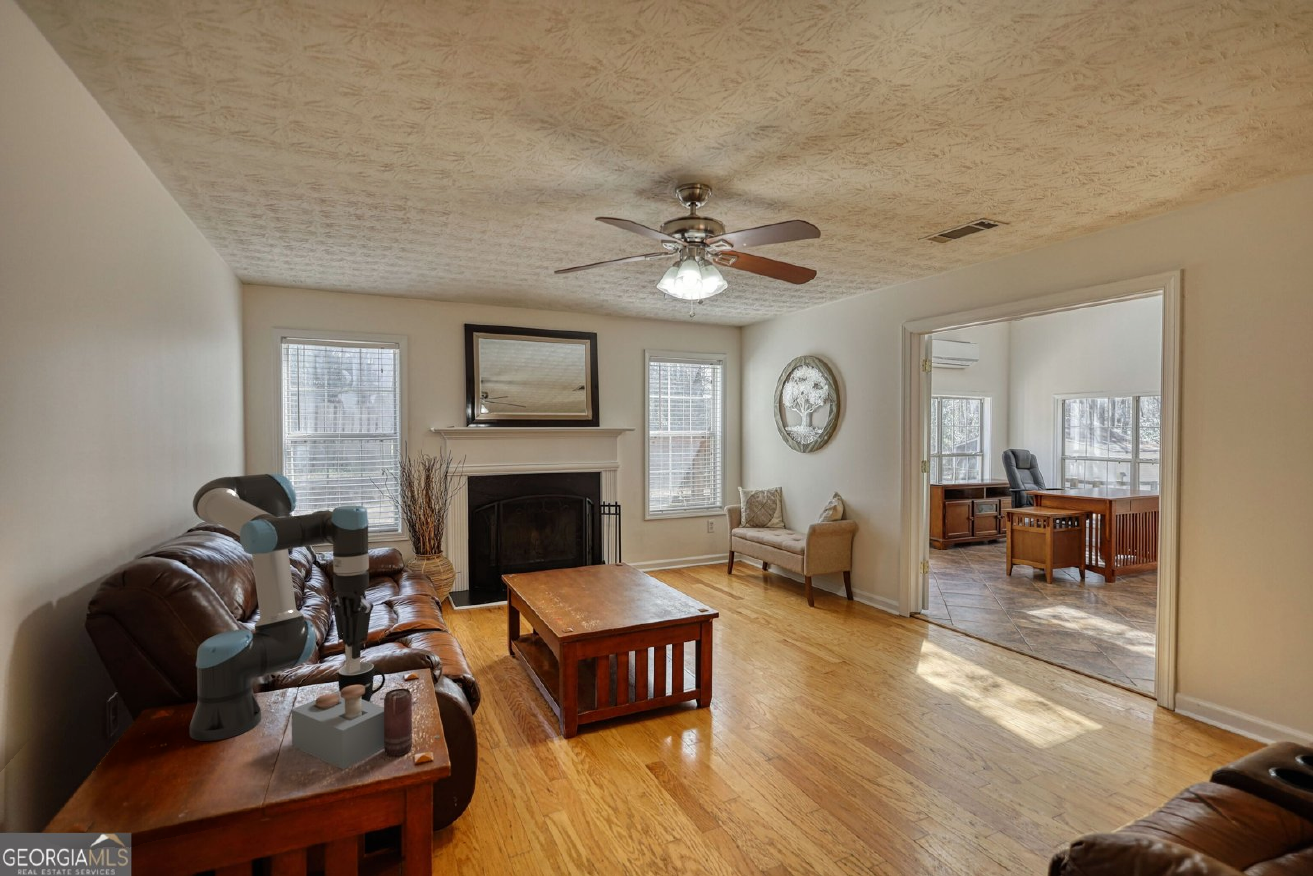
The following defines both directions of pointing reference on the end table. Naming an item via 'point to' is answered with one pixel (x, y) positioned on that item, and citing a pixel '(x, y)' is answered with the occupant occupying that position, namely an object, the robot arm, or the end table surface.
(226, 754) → the end table surface
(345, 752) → the socket block
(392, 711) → the can
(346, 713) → the peg
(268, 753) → the end table surface
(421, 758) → the end table surface
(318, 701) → the peg
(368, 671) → the mug
